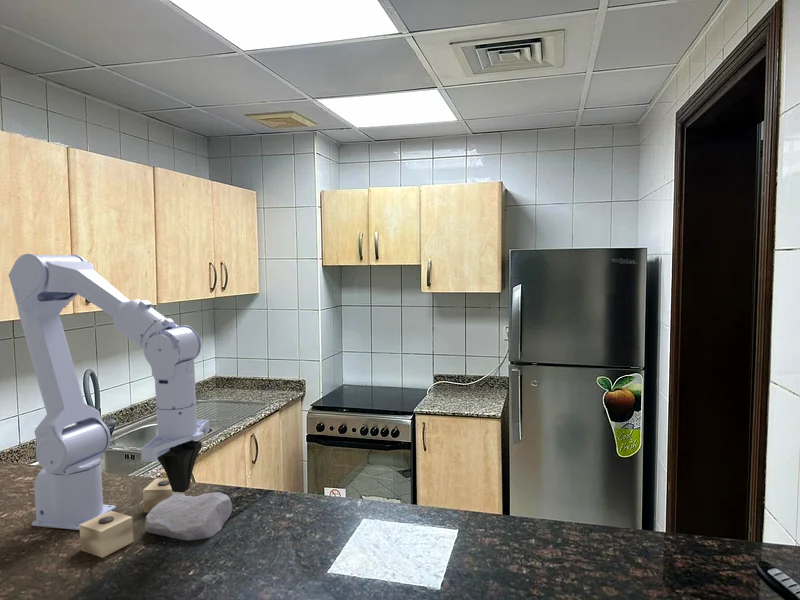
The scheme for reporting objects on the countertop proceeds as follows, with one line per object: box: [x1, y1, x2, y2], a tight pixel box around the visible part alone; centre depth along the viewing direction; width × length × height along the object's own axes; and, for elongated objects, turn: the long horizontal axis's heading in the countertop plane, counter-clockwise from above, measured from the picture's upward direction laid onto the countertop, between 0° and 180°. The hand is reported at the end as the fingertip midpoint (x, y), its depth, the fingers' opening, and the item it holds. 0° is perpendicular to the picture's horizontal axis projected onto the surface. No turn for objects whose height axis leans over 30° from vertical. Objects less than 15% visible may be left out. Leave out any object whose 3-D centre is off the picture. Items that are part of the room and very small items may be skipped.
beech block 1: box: [79, 510, 134, 559], centre depth 80 cm, size 5×5×4 cm
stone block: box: [144, 491, 233, 542], centre depth 86 cm, size 12×5×10 cm
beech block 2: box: [142, 477, 186, 513], centre depth 93 cm, size 5×5×4 cm
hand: (180, 490), depth 84 cm, fingers closed
